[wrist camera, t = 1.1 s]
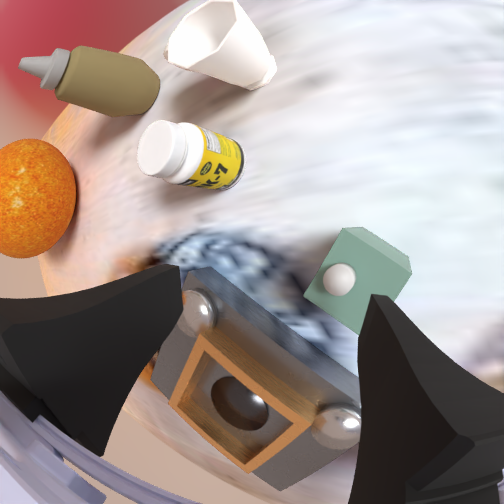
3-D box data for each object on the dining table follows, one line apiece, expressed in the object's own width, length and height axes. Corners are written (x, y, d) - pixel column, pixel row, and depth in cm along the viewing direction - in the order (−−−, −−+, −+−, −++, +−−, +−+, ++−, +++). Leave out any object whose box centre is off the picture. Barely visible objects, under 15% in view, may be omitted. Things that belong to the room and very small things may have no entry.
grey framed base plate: (389, 398, 18) (381, 437, 14) (291, 474, 24) (271, 503, 19) (210, 266, 26) (171, 274, 22) (167, 370, 31) (137, 385, 27)
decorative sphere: (85, 271, 41) (-20, 289, 24) (52, 228, 49) (-26, 235, 32) (105, 152, 35) (-19, 143, 18) (67, 138, 43) (-17, 132, 26)
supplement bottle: (214, 199, 25) (140, 194, 18) (199, 157, 26) (128, 141, 18) (256, 174, 23) (184, 155, 15) (237, 129, 23) (167, 100, 16)
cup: (283, 103, 21) (227, 60, 14) (196, 105, 25) (134, 82, 18) (296, 39, 19) (249, -13, 12) (211, 50, 24) (157, 19, 17)
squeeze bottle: (153, 58, 28) (38, 21, 13) (176, 82, 26) (35, 36, 11) (122, 104, 32) (10, 83, 17) (139, 134, 30) (4, 114, 15)
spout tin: (408, 256, 17) (413, 277, 10) (378, 303, 18) (362, 348, 12) (362, 226, 19) (337, 228, 12) (335, 273, 20) (295, 300, 13)
